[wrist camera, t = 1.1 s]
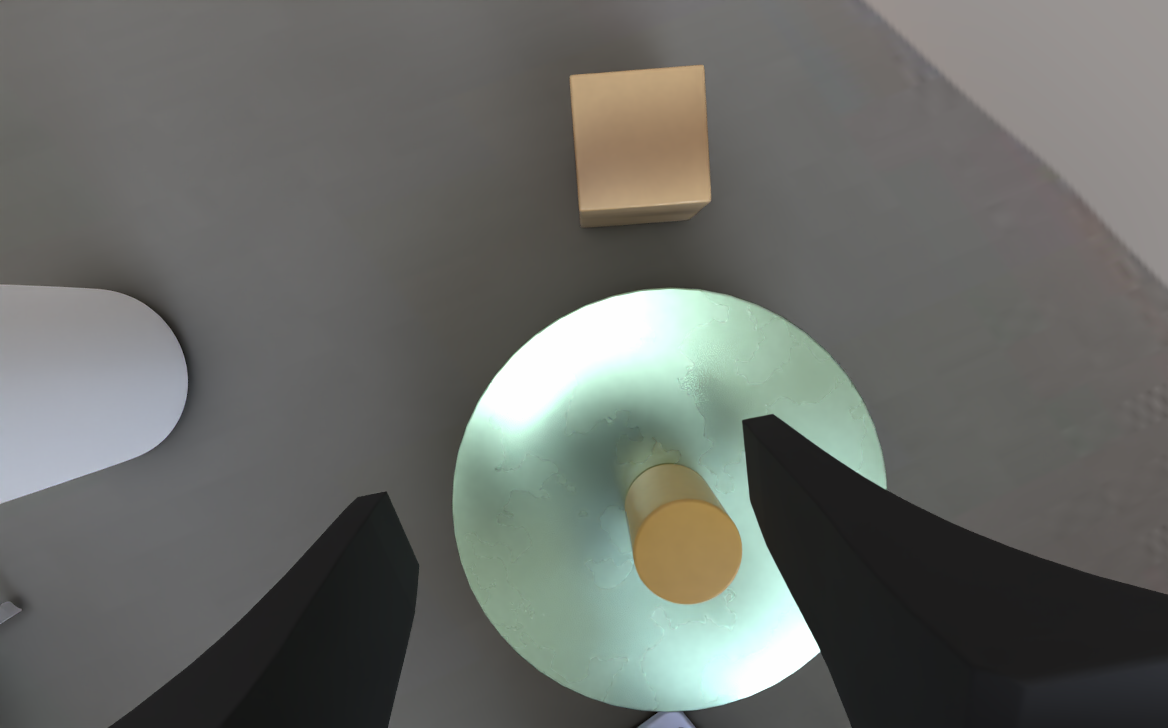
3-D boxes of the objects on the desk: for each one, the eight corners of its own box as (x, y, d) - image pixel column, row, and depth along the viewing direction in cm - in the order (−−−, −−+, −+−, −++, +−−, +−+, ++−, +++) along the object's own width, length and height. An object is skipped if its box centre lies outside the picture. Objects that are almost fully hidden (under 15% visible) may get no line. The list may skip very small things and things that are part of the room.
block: (572, 115, 22) (569, 74, 18) (683, 106, 22) (704, 63, 18) (580, 228, 23) (579, 211, 19) (690, 220, 23) (712, 201, 19)
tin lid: (953, 531, 19) (1063, 599, 15) (626, 766, 20) (638, 898, 16) (705, 201, 18) (744, 166, 14) (375, 459, 19) (310, 506, 15)
